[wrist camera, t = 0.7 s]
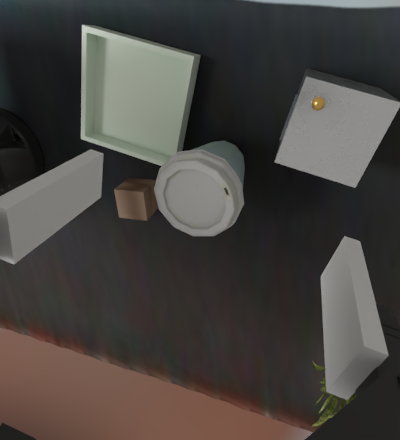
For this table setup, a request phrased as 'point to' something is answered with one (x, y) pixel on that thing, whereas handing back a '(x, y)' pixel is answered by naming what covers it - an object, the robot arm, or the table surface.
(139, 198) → the walnut block
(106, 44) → the tray
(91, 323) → the table surface
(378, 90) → the unit
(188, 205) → the disposable coffee cup
